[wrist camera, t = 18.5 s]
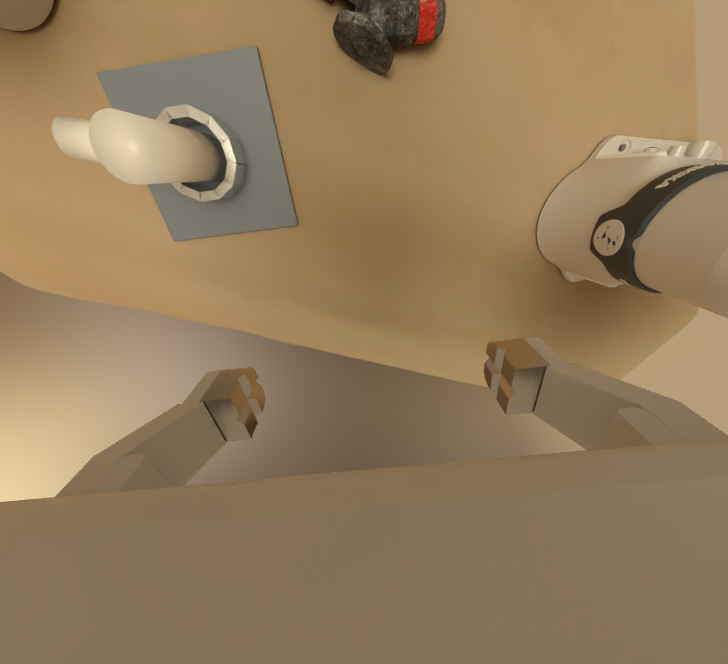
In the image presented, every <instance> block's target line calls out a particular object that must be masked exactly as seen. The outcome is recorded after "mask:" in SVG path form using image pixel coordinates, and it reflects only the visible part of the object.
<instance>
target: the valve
mask: <svg viewBox="0 0 728 664" xmlns="http://www.w3.org/2000/svg"><path fill="white" fill-rule="evenodd" d="M329 1H331V2H333V0H329ZM348 1H350V2H351V3H353V4H354V5H356V9H355V12H352V11H341V12H339V13H338V14H337V16H336V19H335V22H334V25H333V32H334V36H335V38H336V40H337V42H338V43H339V45H340V47H341V48H342V49H343V50H344V52H345V53H346V54H347V55H348V56H349V57H351V58H352V59H354V60H355V61H357V62H358V63H360V64H361V65H363V66H364V67H366V68H367V69H369V70H370V71H372V72H376V73H385V72H387V71H388V70H389V69H390V66H391V64H392V61H393V51H392V48H391V46H403V45H412V42H413V41H414V44H424V43H430V42H431V41H432V40H436V39H437V38H438V36H439V35H440V33H441V32H442V30H443V27H444V23H445V15H446V4H445V1H444V0H348Z"/></svg>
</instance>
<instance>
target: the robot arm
mask: <svg viewBox="0 0 728 664" xmlns="http://www.w3.org/2000/svg"><path fill="white" fill-rule="evenodd" d="M620 145H621V149H620V150H618V149H619V146H620ZM537 242H538V246H539V249H540V251H541V253H542V254H543V256H544V257H545V258H546V259H547V260H548V261H549V262H551V263H552V264H554V265H556V266H557V267H558V268H559V269H560V270H561V273H562V275H563V277H564V278H565V279H566V280H567V281H570V282H578V281H582V280H585V279H587V280H590V281H593V282H596V283H599V284H602V285H605V286H608V287H616V286H618V285H623V284H626V285H628V286H630V287H633V288H636V289H639V290H640V289H641V290H645V291H648V292H652V293H664V294H667V295H670V296H672V297H675V298H677V299H680V300H683V301H685V302H688V303H690V304H693V305H695V306H698V307H701V308H703V309H706V310H709V311H711V312H714V313H716V314H719V315H721V316H724V317H727V318H728V161H723V151H722V147H721V146H719V145H718V141H697V142H683V141H672V140H662V139H652V138H642V137H632V136H622V135H612V136H609V137H607V138H605V139H604V140H603V141H602V142H601V143H600V144H599V146H598V147H597V148H596V149H595V150H594V152H593V153H592V154H591V156H590V157H589V158H588V160H587V161H586V162H585V163H583V164H582V165H581V166H580V167H578V168H577V169H576V170H574V171H573V172H572V173H570V174H569V175H568V176H567V177H566V178H565V179H564V180H563V181H562V182H561V183H560V184H559V185H558V186H557V187H556V188H555V190H554V191H553V192H552V194H551V195H550V197H549V198H548V200H547V201H546V203H545V205H544V207H543V209H542V212H541V214H540V218H539V221H538V226H537ZM486 353H487V354H488V356H489V357H490V358H489V359H488V360H487V361H486V362H485V365H484V375H485V380H486V382H487V385H488V387H489V388H490V390H492V391H494V392H495V393H497V398H496V399H497V401H498V403H499V404H500V406H501V408H502V409H503V411H504V412H505V414H518V413H519V414H520V413H533V414H535V415H536V416H537V417H539V418H540V419H542V420H543V421H545V422H546V423H548V424H549V425H551V426H552V427H554V428H555V429H557V430H558V431H560V432H561V433H563V434H564V435H566V436H567V437H569V438H570V439H571V440H573V441H575V442H576V443H577V444H579V445H580V446H582V447H583V448H585V449H586V451H575V452H564V453H552V454H541V455H530V456H518V457H507V458H496V459H485V460H473V461H461V462H450V463H439V464H428V465H416V466H405V467H393V468H382V469H370V470H359V471H349V472H337V473H326V474H315V475H303V476H291V477H280V478H269V479H257V480H247V481H235V482H224V483H212V484H202V485H190V486H184V485H185V484H186V483H187V482H188V481H189V480H190V479H191V478H192V477H193V476H194V475H195V474H196V473H197V472H198V471H199V470H200V469H201V468H202V467H203V466H204V465H205V464H206V463H207V462H208V461H209V460H210V459H211V458H212V457H213V456H214V455H215V454H216V453H217V452H218V451H219V450H220V449H221V448H222V447H223V446H224V445H225V444H226V442H228V441H236V440H244V439H251V438H252V435H253V433H254V430H255V428H256V425H257V423H258V422H257V420H256V417H257V416H258V415H259V414H261V413H262V411H263V408H264V405H265V393H264V390H263V387H262V386H261V385H260V384H258V383H257V382H256V380H257V378H258V375H257V373H256V371H255V369H253V368H252V367H249V368H238V369H226V370H216V371H210V372H207V373H206V374H205V376H204V377H203V378H202V379H201V381H200V382H199V383H198V384H197V386H196V387H195V388H194V390H193V391H192V392H191V394H190V395H189V396H188V397H187V399H186V400H185V401H184V402H183V404H178V405H176V406H174V407H173V408H171V409H169V410H168V411H166V412H165V413H163V414H161V415H160V416H158V417H157V418H155V419H153V420H152V421H150V422H149V423H147V424H145V425H144V426H142V427H141V428H139V429H137V430H136V431H134V432H132V433H131V434H129V435H128V436H126V437H124V438H123V439H121V440H119V441H118V442H116V443H115V444H113V445H111V446H110V447H108V448H107V449H105V450H103V451H102V452H100V453H98V454H97V455H95V456H94V457H92V458H91V460H90V461H89V462H88V463H87V464H86V465H85V466H84V467H83V468H82V469H81V470H80V471H79V472H78V473H77V474H76V475H75V476H74V478H72V480H71V481H70V482H69V483H68V484H67V485H66V486H65V487H64V488H63V489H62V490H61V491H60V492H59V493H58V494H57V496H55V497H53V498H42V499H30V500H19V501H7V502H0V664H728V435H726V434H725V433H723V432H722V431H721V430H719V429H718V428H716V427H715V426H713V425H712V424H711V423H709V422H708V421H706V420H705V419H704V418H702V417H701V416H699V415H698V414H696V413H695V412H694V411H692V410H691V409H689V408H688V407H686V406H685V405H684V404H682V403H681V402H679V401H676V400H673V399H670V398H668V397H665V396H662V395H660V394H657V393H654V392H651V391H649V390H646V389H643V388H640V387H637V386H635V385H632V384H629V383H626V382H624V381H621V380H618V379H615V378H613V377H610V376H607V375H604V374H602V373H599V372H596V371H593V370H591V369H588V368H585V367H582V366H580V365H577V364H569V363H568V362H567V361H565V360H564V359H563V358H562V357H561V356H560V355H559V354H558V353H556V352H555V351H554V350H553V349H552V348H551V347H550V346H548V345H547V344H546V343H545V342H544V341H543V340H542V339H541V338H539V337H536V336H532V337H525V338H519V339H512V340H504V341H495V342H489V343H488V345H487V350H486Z"/></svg>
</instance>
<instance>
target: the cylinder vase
mask: <svg viewBox="0 0 728 664" xmlns="http://www.w3.org/2000/svg"><path fill="white" fill-rule="evenodd" d="M53 3H54V0H0V28H3V29H7V30H14V31H24V30H30V29H33V28H35V27H37V26H39V25H40V24H41V23H43V22H44V21H45V19H46V18H47V17H48V15H49V14H50V12H51V9H52V7H53Z"/></svg>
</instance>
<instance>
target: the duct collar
mask: <svg viewBox="0 0 728 664" xmlns="http://www.w3.org/2000/svg"><path fill="white" fill-rule="evenodd" d="M156 120H158V121H162V122H166V123H170V124H173V125H177V126H181V127H185V128H187V127H188V126H189V125H190V124H196V123H203V124H205V125H207V126H208V127H209V129H210V130H211V131H212V132H213V133H214V134H215V136H216V137H217V138H218V139H219V140H220V142H221V144H222V147H223V150H224V153H225V156H226V160H227V167H226V174H225V180H224V181H223V182H222V183H221V184H220V185H219V186H218V187H217V188H216V189H215V190H210V189H208V188H205V187H203V186H201V185H198V184H197V183H196V182H181V183H171V184H172V185H173V186H174V187H175V188H176V189H177V191H178V192H179V193H181V194H184V195H186V196H188V197H191V198H193V199H196V200H198V201H201V202H202V201H209V200H217V199H223V198H229V197H232V196H233V195H234V194H235V193H236V192H237V191H238V190H239V189H240V188H241V187H242V186H243V184H244V182H245V176H246V170H247V165H246V164H247V161H246V158H245V154H244V151H243V147H242V144H241V142H240V140H239V139H238V137H237V136H236V135H235V134H234V132H233V131H232V130H231V129H230V127H229V126H228V125H227V124H226V122H224V121H223V120H221V119H219V118H217V117H214V116H212V115H210V114H208V113H206V112H204V111H202V110H199V109H197V108H195V107H192V106H190V105H187V104H184V105H178V106H172V107H165V108H164V109H163V110H162V112H161V113H160V114H159V116H158V117H157V118H156Z"/></svg>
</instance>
